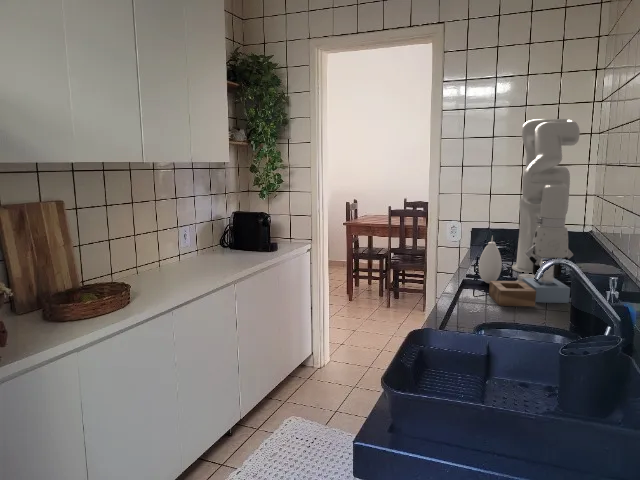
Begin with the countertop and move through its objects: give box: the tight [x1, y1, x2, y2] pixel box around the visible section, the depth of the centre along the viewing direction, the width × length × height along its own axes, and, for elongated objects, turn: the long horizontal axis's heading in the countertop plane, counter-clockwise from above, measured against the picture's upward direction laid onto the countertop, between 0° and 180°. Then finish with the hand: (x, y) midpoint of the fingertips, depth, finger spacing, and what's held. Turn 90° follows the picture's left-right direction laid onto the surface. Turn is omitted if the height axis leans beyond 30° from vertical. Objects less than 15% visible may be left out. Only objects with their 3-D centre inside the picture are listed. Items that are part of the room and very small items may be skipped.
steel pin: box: [538, 260, 555, 286], centre depth 156 cm, size 4×4×12 cm
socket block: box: [522, 278, 571, 304], centre depth 156 cm, size 11×11×5 cm
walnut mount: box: [488, 280, 536, 307], centre depth 153 cm, size 11×11×5 cm
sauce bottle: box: [478, 235, 503, 285], centre depth 171 cm, size 8×8×18 cm
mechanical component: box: [516, 273, 535, 281], centre depth 168 cm, size 10×4×10 cm
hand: (546, 275), depth 155 cm, fingers open, 6 cm apart
